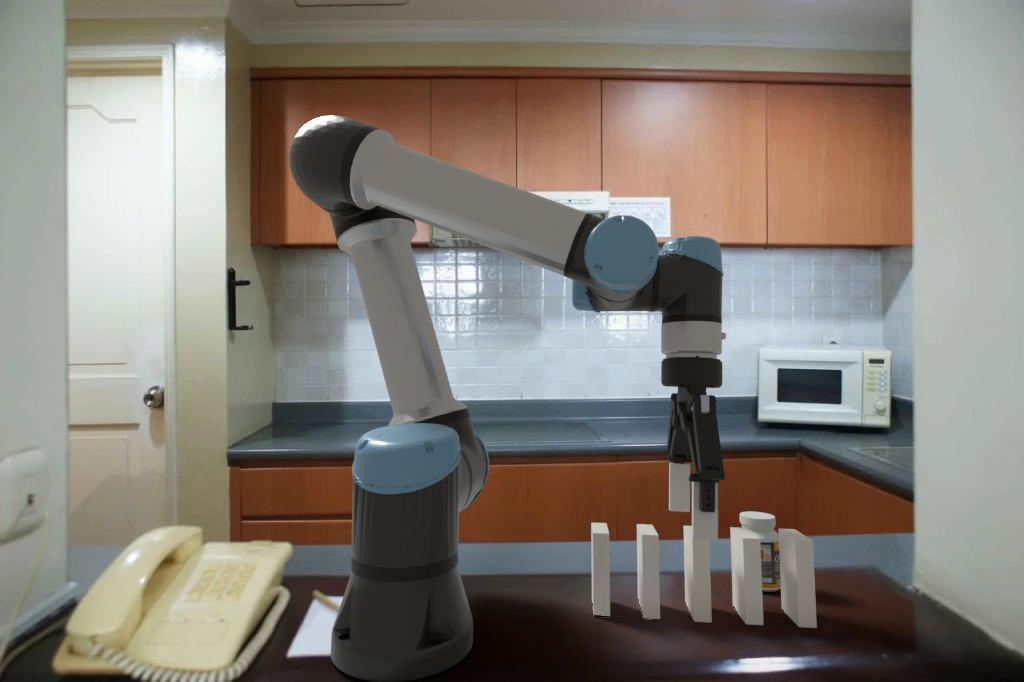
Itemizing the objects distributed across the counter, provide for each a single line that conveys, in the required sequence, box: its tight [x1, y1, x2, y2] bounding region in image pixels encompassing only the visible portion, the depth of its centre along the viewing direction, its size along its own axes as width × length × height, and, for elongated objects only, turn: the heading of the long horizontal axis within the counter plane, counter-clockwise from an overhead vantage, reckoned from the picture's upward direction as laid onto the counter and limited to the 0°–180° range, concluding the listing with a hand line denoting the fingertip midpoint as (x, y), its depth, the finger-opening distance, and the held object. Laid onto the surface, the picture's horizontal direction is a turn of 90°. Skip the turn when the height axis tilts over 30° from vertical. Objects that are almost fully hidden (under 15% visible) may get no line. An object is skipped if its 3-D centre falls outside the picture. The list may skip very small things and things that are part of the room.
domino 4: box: [729, 526, 765, 626], centre depth 65 cm, size 2×5×10 cm, turn 174°
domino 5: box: [778, 528, 818, 629], centre depth 64 cm, size 2×5×10 cm, turn 174°
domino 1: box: [590, 522, 611, 617], centre depth 67 cm, size 2×5×10 cm, turn 174°
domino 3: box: [683, 525, 713, 624], centre depth 65 cm, size 2×5×10 cm, turn 174°
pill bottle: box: [739, 510, 781, 590], centre depth 74 cm, size 6×6×10 cm
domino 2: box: [636, 523, 661, 620], centre depth 66 cm, size 2×5×10 cm, turn 174°
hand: (690, 524), depth 66 cm, fingers open, 13 cm apart
